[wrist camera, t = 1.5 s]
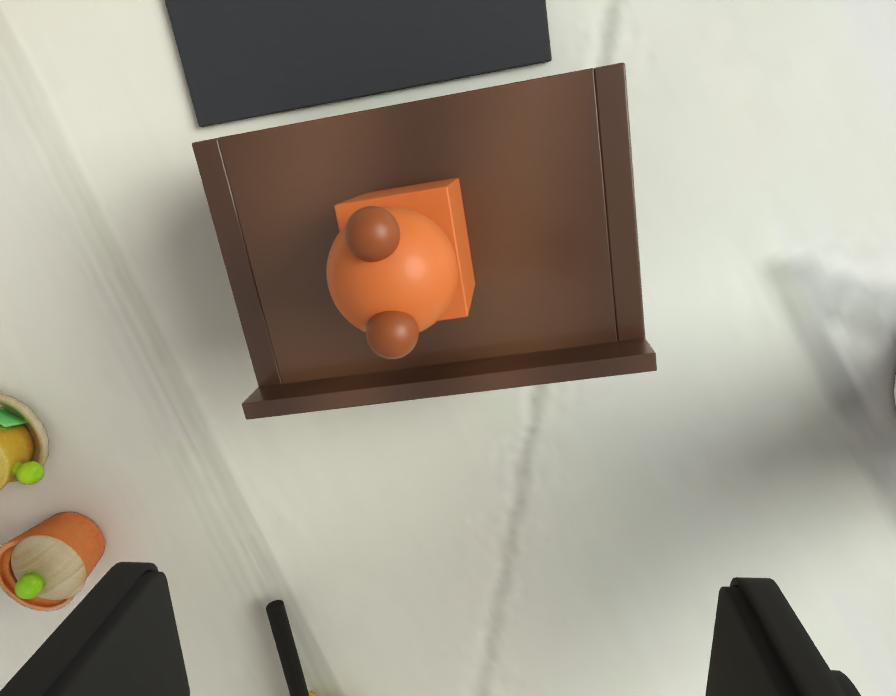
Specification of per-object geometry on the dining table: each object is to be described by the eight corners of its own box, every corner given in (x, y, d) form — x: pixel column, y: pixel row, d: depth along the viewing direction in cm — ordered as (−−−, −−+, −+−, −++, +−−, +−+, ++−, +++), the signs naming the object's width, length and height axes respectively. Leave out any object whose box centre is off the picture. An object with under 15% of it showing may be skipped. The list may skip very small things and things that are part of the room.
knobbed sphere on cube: (461, 176, 26) (436, 196, 17) (477, 284, 27) (463, 357, 18) (363, 193, 26) (288, 221, 17) (384, 298, 28) (324, 375, 19)
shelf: (591, 83, 33) (635, 55, 22) (611, 300, 37) (657, 370, 26) (274, 141, 36) (166, 143, 24) (321, 339, 39) (245, 420, 28)
